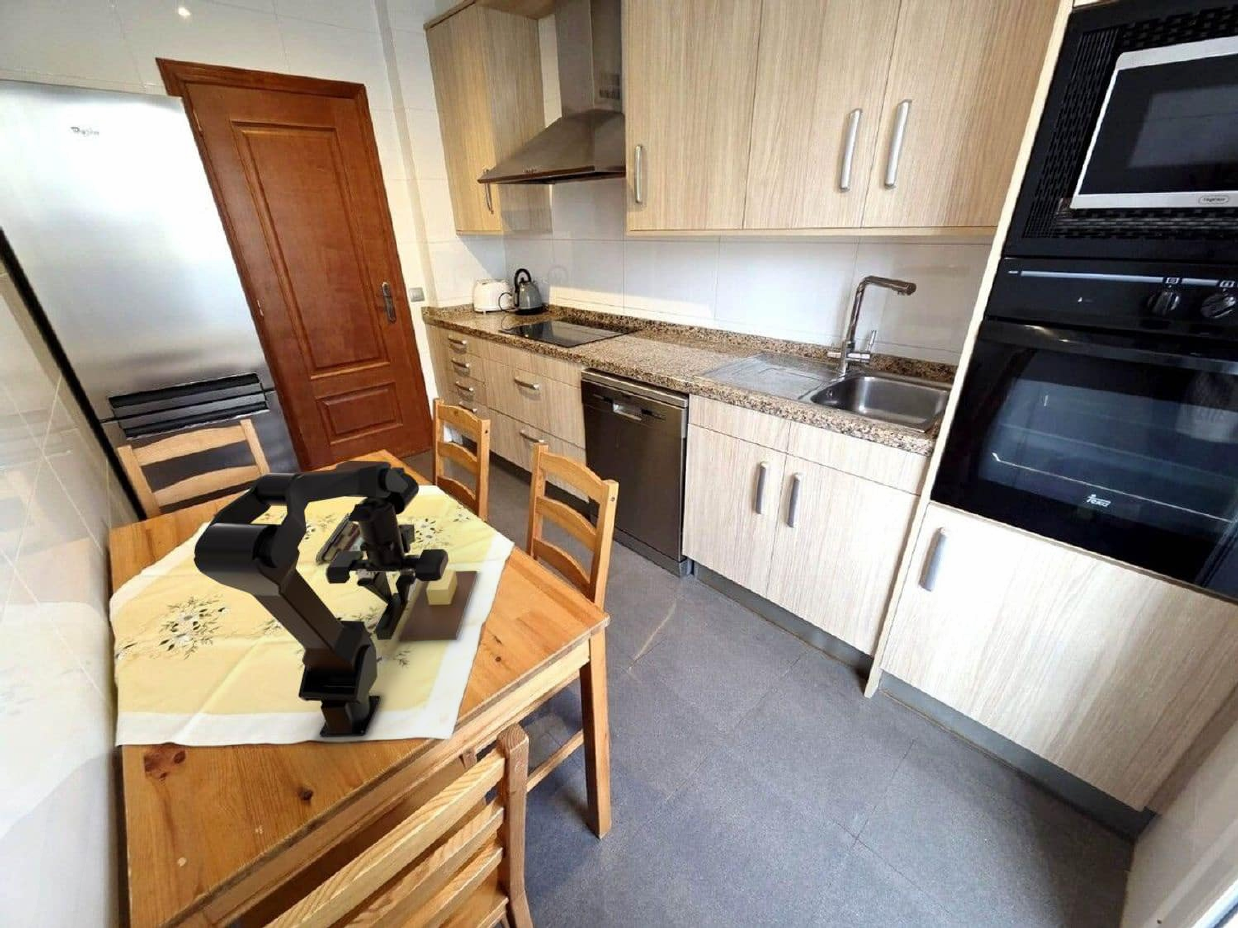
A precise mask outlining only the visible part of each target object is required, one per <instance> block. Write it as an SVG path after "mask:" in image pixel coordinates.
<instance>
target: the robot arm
mask: <svg viewBox="0 0 1238 928" xmlns="http://www.w3.org/2000/svg"><path fill="white" fill-rule="evenodd" d="M334 467H335V468H333V469H324V470H309V471H298V472H272V471H271V472H267V473H265V474H261V475H260V476H259V477H258V478H256V480H255V481H254V483H253V484H252V485H251V487H250V488H249V490H248V491H246V492H244V493H243V494H242V495H240V496H238V497H237V498H236V499H234V500H232V501H231V502H230V503H228V504H227V505H226V506H224V507H222V508H221V509H220V510H219V511H218V512H217V513H216V514H215V516H214V517H213V519H212V520H211V522H210V523H209V524H208V525H207V527H206V528H205V529H204V530H203V532H202V533H201V535H200V536H199V537H198V538H197V541H196V543H195V545H194V548H193V549H194V550H193V554H194V557H193V562H194V566H195V567H196V568H197V570H198V571H199V572H200V573H201V574H202V575H204V576H206V577H207V578H209V579H211V580H213V581H215V582H216V583H218V584H220V585H222V586H225V587H229V588H231V589H234V590H238V591H241V592H243V593H246V594H249V595H251V596H252V597H254V598H255V600H256V601H257V602H258V603H259V604H260V605H261V606H262V607H263V608H264V609H265V610H266V611H267V612H268V613H269V614H270V615H271V616H272V617H273V618H274V619H275V620H276V621H277V622H278V623H279V624H280V625H281V626H282V627H283V628H284V629H285V630H286V631H287V632H288V633H289V634H290V635H291V636H292V637H293V638H294V639H295V640H296V641H297V642H298V643H299V644H300V645H301V646H302V647H303V648H304V652H303V655H302V658H301V661H302V663H303V665H304V667H303V672H302V676H301V681H300V685H299V690H298V694H297V695H298V698H299V699H300V700H301V701H304V702H309V701H312V702H320V703H321V705H320V710H321V713H322V716H323V718H324V720H325V722H324V724H323V726H322V728H321V730H320V732H319V737H320V738H343V737H344V738H345V737H346V738H347V737H363V736H365V735H366V734H367V732H368V730H369V728H370V724H371V723H372V721H373V718H374V716H375V714H376V711H377V709H378V708H379V704H380V702H381V700H382V699H381V696H380V695H370V691H371V689H372V687H373V686H374V684H375V682H376V680H377V679H378V659H377V648H376V646H375V643H374V640H373V639H372V636H373V632H370V631H369V630H368V629H367V627H366V625H365V623H364V622H362V621H361V620H340V619H338V618H337V617H336V616H335V614H334V613H333V612H332V611H331V610H330V609H329V607H328V606H327V605H326V604H325V603H324V601H323V600H322V598H321V597H320V596H319V595H318V594H317V593H316V591H315V590H314V589H313V588H312V586H311V585H310V584H309V583H308V582H307V580H306V579H305V578H304V577H303V575H302V574H301V573H300V572H299V570H298V569H297V566H298V562H299V558H300V554H301V551H300V549H299V546H300V544H301V543H302V541H303V539H304V537H305V536H306V534H307V531H308V530H307V521H306V512H305V510H306V509H307V507H308V505H309V504H310V503H315V502H320V501H326V500H332V499H338V498H339V499H340V498H343V497H346V498H363V499H362V500H361V501H360V502H359V503H355V504H354V505H353V506H354V507H353V509H352V511H351V512H350V513H349V518H348V520H349V521H350V522H353V523H357V524H358V525H359V529H360V533H361V536H362V540H363V542H362V544H361V545H360V551H340V552H339V553H338V554H337V555H336V556H335V558H334V559H333V560H332V562H331V561H330V563H329V564H328V565H327V567H326V569H325V578H326V581H327V583H328V584H329V585H334V584H336V585H337V584H341V585H342V584H347V582H348V581H350V579H351V574H350V573H351V572H355V576H357V579H358V580H357V581H356V585H357V586H358V587H363V588H365V589H366V590H368V591H369V592H371V593H372V594H373V595H375V596H376V597H378V598H379V599H380V600H382V601H383V602H384V603H385V604H387V605H388V603H389V601H390V599H391V597H392V595H393V593H392V590H391V587H390V583H389V579H388V576H387V573H390V572H391V573H393V572H394V573H395V572H396V573H397V572H398V573H399V575H398V577H397V579H396V581H395V583H394V585H395V587H396V591H397V593H398V594H399V597H400V600H401V602H402V604H403V605H406V603H407V600H408V595H409V590H410V585H412V584H414V582H415V580H416V578H417V579H418V580H419V582H424V581H438V580H440V579H441V578H442V576H443V573H444V571H445V569H446V568H447V566H448V563H449V561H450V560H449V553H448V552H447V550H445V549H444V548H430V549H429V548H428V549H427V548H424V549H423V550H422V551H421V553H420V554H410V551H411V550H412V547H411V544H414V543H415V542H416V531H415V529H416V528H415V524H412V523H411V524H409V523H408V524H407V523H406V524H405V523H404V524H399V521H398V517H397V515H400V514H402V513H404V512H405V510H406V509H407V508H408V506H409V505H410V504H411V503H412V502H413V500H415V498H416V497H417V495H418V493H419V491H420V485H419V482H418V481H417V480H416V479H415V477H414V476H412V475H410V474H409V473H406V471H405V467H400V466H397V467H396V466H394V467H392V464H391V463H390V462H389V461H383V460H380V461H379V460H346V461H344V462H341V463H338V464H336V465H335V466H334ZM271 507H286V515H285V516H284V517H283V520H282V521H281V523H257V522H256V523H253V522H254V521H256V520H258V518H260V517H262V516H263V515H264V514H265V513H267V512H268V511H269V510H270V508H271ZM364 552H365V554H366V558H365V555H364Z"/></svg>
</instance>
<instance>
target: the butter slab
mask: <svg viewBox="0 0 1238 928" xmlns="http://www.w3.org/2000/svg"><path fill="white" fill-rule="evenodd" d="M455 571H456V569H455V568H452V569H449V568H448V569H446V568H445V571H444V573H443V576H442V578H441V579H440V580H438V581H430V582H429V584H428V587H427V589H426V592H427V595H429V594H448V593H449V591H450V588H451V585H452V583H453V580H454V577H455V575H456V572H455Z"/></svg>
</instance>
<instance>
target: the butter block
mask: <svg viewBox="0 0 1238 928" xmlns="http://www.w3.org/2000/svg"><path fill="white" fill-rule="evenodd" d="M457 584H458V583H457V577H456V575H455V577H454V580H453V583H452V585H451V588H450V591H449V593H448V594H429V595H427V597H428V602H429V605H439V604H450V603H451V600H452V598H453V595H454V592H455V590H456V587H457Z"/></svg>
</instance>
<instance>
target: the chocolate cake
mask: <svg viewBox="0 0 1238 928" xmlns="http://www.w3.org/2000/svg"><path fill="white" fill-rule="evenodd" d="M349 515H350V513H349V512H347V513H346V514H345V515H344V517H343V518H342V520H341V521H340V522H339V523H338V525H336V527H335V529H334V531H333V532H332V533H331V535H330V536H329V537H328V538H327V540H326V541H325V543H324V545H323V546H322V547H321V548H319V550H318V552H317V554H316V555H315V559H314V560H315V562H316V563H317V564H318V563H320V562H321V563H323V562H325V561H329V562H330V563H331V562H332V560H333V559H334V558H335V556H336V555H337V554H338V553H339V552H340V551H361V549H360V545H361V544H362V542H363V540H362V536H361V533H360V529H359V525H358V523H356V522H350V521H349V520H348V518H349Z"/></svg>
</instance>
